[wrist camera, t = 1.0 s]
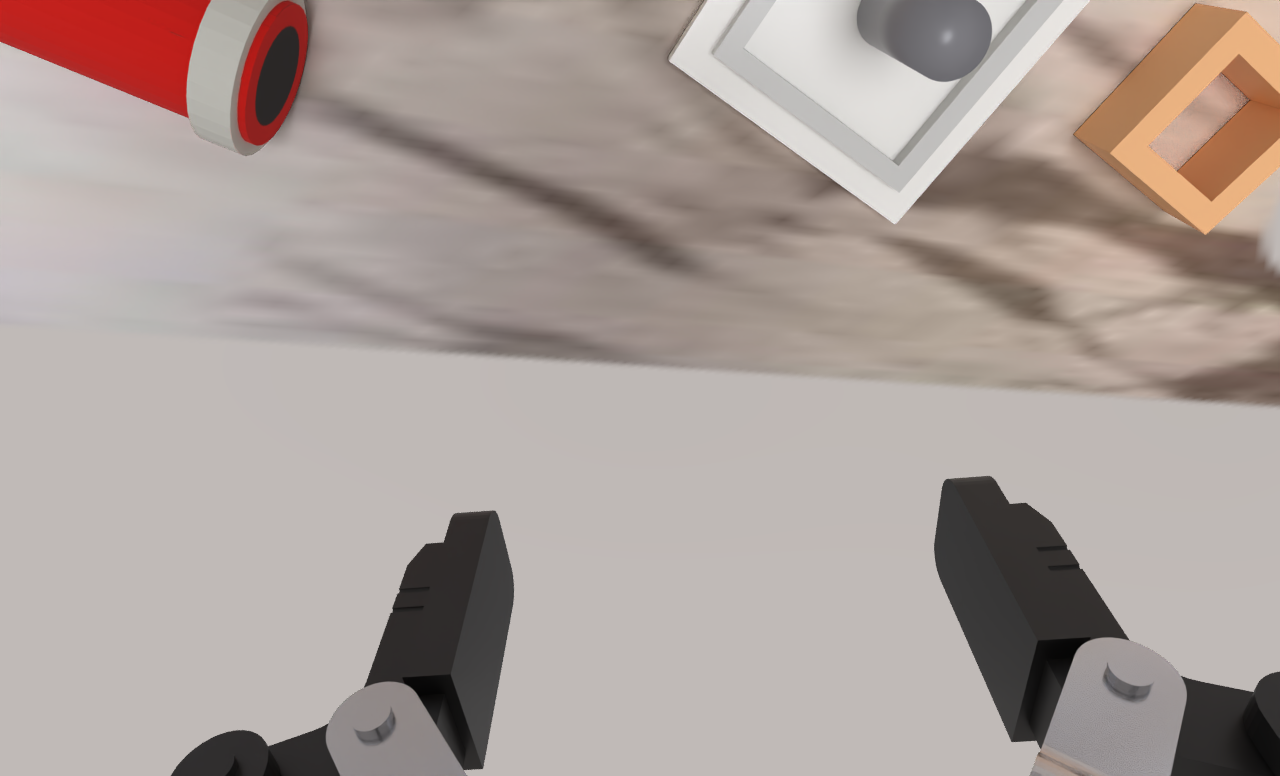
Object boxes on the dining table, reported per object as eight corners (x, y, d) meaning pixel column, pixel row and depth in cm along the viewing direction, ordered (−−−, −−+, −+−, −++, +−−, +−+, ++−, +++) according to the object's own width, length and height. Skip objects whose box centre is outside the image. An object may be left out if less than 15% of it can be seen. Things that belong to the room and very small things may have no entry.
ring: (1195, 3, 30) (1246, 11, 28) (1286, 93, 32) (1342, 108, 30) (1073, 134, 33) (1109, 153, 30) (1163, 210, 35) (1205, 234, 32)
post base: (872, -263, 26) (954, -324, 19) (1107, -38, 30) (1247, -22, 23) (668, 56, 31) (676, 97, 25) (888, 217, 35) (949, 291, 28)
